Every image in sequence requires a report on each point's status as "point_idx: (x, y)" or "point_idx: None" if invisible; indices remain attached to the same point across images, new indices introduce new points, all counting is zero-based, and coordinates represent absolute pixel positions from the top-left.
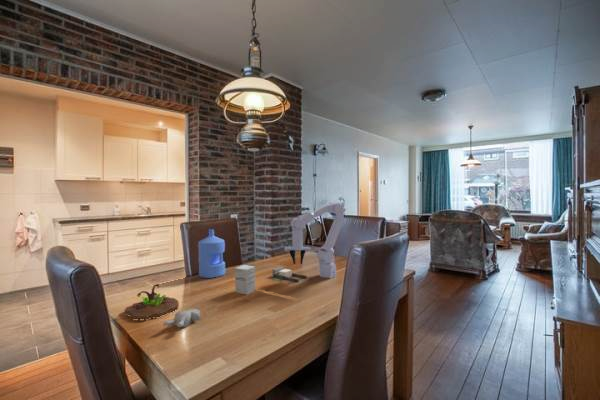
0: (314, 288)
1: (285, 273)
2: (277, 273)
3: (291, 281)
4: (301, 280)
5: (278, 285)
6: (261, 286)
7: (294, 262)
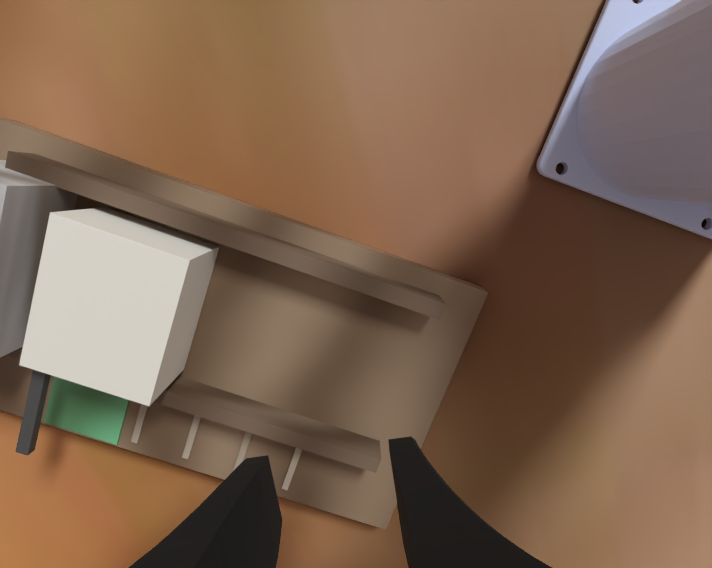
0: (563, 508)
1: (157, 397)
2: (41, 397)
3: (294, 454)
4: (394, 388)
5: (185, 504)
6: (39, 561)
7: (271, 562)
